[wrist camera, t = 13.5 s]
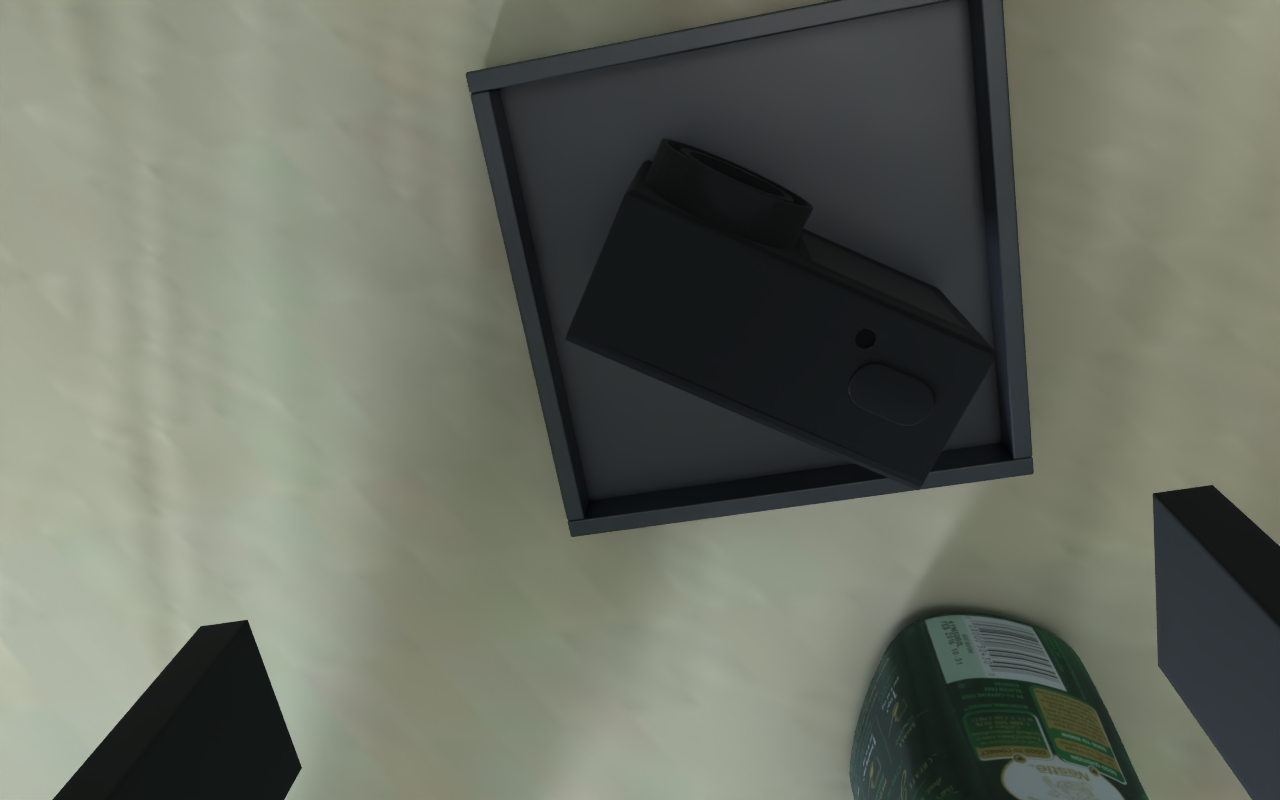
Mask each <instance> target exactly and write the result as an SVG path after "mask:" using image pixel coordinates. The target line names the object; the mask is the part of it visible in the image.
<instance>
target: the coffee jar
mask: <svg viewBox="0 0 1280 800" xmlns="http://www.w3.org/2000/svg"><path fill="white" fill-rule="evenodd" d="M850 782H851V787H852V792H853V796H854V800H1149V799H1148V797H1147V795H1146V793H1145V791H1144V789H1143V787H1142V785H1141V783H1140V781H1139V779H1138V777H1137V775H1136V772H1135V770H1134V768H1133V766H1132V763H1131V761H1130V759H1129V757H1128V755H1127V752H1126V750H1125V748H1124V746H1123V743H1122V741H1121V739H1120V737H1119V735H1118V733H1117V730H1116V728H1115V726H1114V724H1113V722H1112V720H1111V717H1110V715H1109V713H1108V711H1107V709H1106V707H1105V705H1104V704H1103V701H1102V699H1101V697H1100V696H1099V693H1098V691H1097V689H1096V687H1095V685H1094V683H1093V682H1092V680H1091V678H1090V676H1089V674H1088V672H1087V670H1086V669H1085V667H1084V665H1083V663H1082V662H1081V660H1080V658H1079V657H1078V655H1077V654H1076V653H1075V652H1074V651H1073V649H1072V648H1071V647H1070V646H1068V645H1067V644H1066V643H1065V642H1064V641H1062V640H1061V639H1059V638H1058V637H1056V636H1054V635H1052V634H1050V633H1048V632H1045V631H1043V630H1041V629H1038V628H1036V627H1033V626H1029V625H1026V624H1023V623H1020V622H1016V621H1012V620H1008V619H1004V618H1001V617H996V616H989V615H981V614H967V613H950V614H941V615H936V616H931V617H928V618H926V619H923V620H919V621H917V622H916V623H914V624H912V625H910V626H909V627H907V628H905V629H904V630H903V631H902V632H901V633H899V634H898V636H897V637H896V638H895V639H894V640H893V642H892V643H891V644H890V645H889V647H888V648H887V650H886V652H885V654H884V656H883V658H882V660H881V662H880V664H879V666H878V668H877V670H876V673H875V676H874V678H873V679H872V682H871V684H870V687H869V689H868V692H867V695H866V698H865V701H864V704H863V708H862V711H861V714H860V717H859V721H858V725H857V728H856V731H855V736H854V742H853V748H852V755H851V762H850Z"/></svg>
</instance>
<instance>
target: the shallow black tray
mask: <svg viewBox="0 0 1280 800" xmlns="http://www.w3.org/2000/svg"><path fill="white" fill-rule="evenodd" d="M466 78H467V83H468V87H469V92H470V93H472V94H471V100H472V104H473V109H474V113H475V117H476V122H477V126H478V131H479V135H480V139H481V144H482V148H483V153H484V157H485V161H486V166H487V170H488V174H489V179H490V183H491V188H492V192H493V196H494V201H495V205H496V209H497V214H498V218H499V223H500V227H501V231H502V236H503V240H504V244H505V249H506V253H507V258H508V262H509V266H510V271H511V275H512V280H513V284H514V288H515V293H516V297H517V301H518V306H519V310H520V315H521V319H522V323H523V328H524V332H525V336H526V341H527V345H528V350H529V354H530V358H531V363H532V367H533V372H534V376H535V380H536V385H537V389H538V393H539V398H540V402H541V407H542V411H543V415H544V420H545V424H546V428H547V433H548V437H549V442H550V446H551V450H552V455H553V459H554V463H555V468H556V472H557V477H558V481H559V485H560V490H561V494H562V499H563V503H564V507H565V512H566V516H567V519H568V525H569V530H570V534H571V536H572V537H575V536H583V535H590V534H597V533H605V532H612V531H619V530H627V529H634V528H641V527H649V526H656V525H663V524H671V523H678V522H685V521H693V520H700V519H707V518H715V517H722V516H729V515H737V514H744V513H751V512H759V511H766V510H773V509H781V508H788V507H795V506H803V505H810V504H817V503H825V502H832V501H839V500H847V499H854V498H861V497H869V496H876V495H883V494H891V493H898V492H905V491H913V490H916V489H914V488H911V487H909V486H907V485H904V484H902V483H899V482H897V481H895V480H892V479H890V478H888V477H885V476H883V475H881V474H878V473H876V472H873V471H871V470H869V469H866V468H864V467H862V466H859V465H857V464H854V463H852V462H850V461H847V460H845V459H843V458H840V457H838V456H836V455H833V454H831V453H828V452H826V451H824V450H821V449H819V448H817V447H814V446H812V445H810V444H807V443H805V442H802V441H800V440H798V439H795V438H793V437H791V436H788V435H786V434H784V433H781V432H779V431H777V430H774V429H772V428H770V427H767V426H765V425H763V424H760V423H758V422H756V421H753V420H751V419H748V418H746V417H744V416H741V415H739V414H737V413H734V412H732V411H730V410H727V409H725V408H723V407H720V406H718V405H716V404H713V403H711V402H709V401H706V400H704V399H702V398H699V397H697V396H695V395H692V394H690V393H688V392H685V391H683V390H680V389H678V388H676V387H673V386H671V385H669V384H666V383H664V382H662V381H659V380H657V379H655V378H652V377H650V376H648V375H645V374H643V373H641V372H638V371H636V370H634V369H631V368H629V367H627V366H624V365H622V364H620V363H618V362H615V361H613V360H611V359H608V358H606V357H604V356H601V355H599V354H597V353H594V352H592V351H590V350H587V349H585V348H583V347H581V346H578V345H576V344H574V343H571V342H569V341H567V340H565V338H566V335H567V332H568V329H569V327H570V324H571V322H572V320H573V317H574V315H575V312H576V310H577V308H578V305H579V303H580V300H581V298H582V296H583V293H584V291H585V288H586V286H587V284H588V281H589V279H590V276H591V274H592V272H593V269H594V267H595V264H596V262H597V260H598V257H599V255H600V252H601V250H602V248H603V245H604V243H605V240H606V238H607V236H608V233H609V231H610V228H611V226H612V224H613V221H614V219H615V216H616V214H617V212H618V209H619V207H620V204H621V202H622V200H623V197H624V195H625V193H626V191H627V189H628V188H629V186H630V184H631V182H632V181H633V179H634V177H635V175H636V173H637V172H638V170H639V168H640V167H641V165H642V163H643V162H645V161H648V160H650V161H652V162H653V160H654V157H655V155H656V153H657V150H658V148H659V145H660V143H661V140H662V139H663V138H666V139H671V140H675V141H679V142H682V143H685V144H688V145H691V146H694V147H697V148H700V149H702V150H705V151H707V152H710V153H712V154H715V155H717V156H719V157H722V158H724V159H727V160H729V161H731V162H734V163H736V164H738V165H740V166H742V167H745V168H747V169H749V170H751V171H753V172H755V173H757V174H759V175H761V176H764V177H766V178H768V179H770V180H772V181H773V182H775V183H777V184H779V185H781V186H783V187H785V188H787V189H788V190H790V191H792V192H793V193H795V194H797V195H799V196H800V197H802V198H803V199H805V200H806V201H807V202H809V203H810V204H811V205H812V206H813V210H812V212H811V214H810V216H809V218H808V220H807V222H806V224H805V226H804V228H803V229H806V230H808V231H810V232H812V233H815V234H817V235H819V236H821V237H824V238H826V239H828V240H830V241H833V242H835V243H837V244H839V245H842V246H844V247H846V248H848V249H851V250H853V251H855V252H857V253H860V254H862V255H864V256H866V257H869V258H871V259H873V260H875V261H878V262H880V263H882V264H884V265H887V266H889V267H891V268H893V269H896V270H898V271H900V272H902V273H905V274H907V275H909V276H911V277H914V278H916V279H918V280H920V281H923V282H925V283H927V284H930V285H932V286H934V287H936V288H938V289H939V290H940V291H941V292H942V293H943V294H944V295H945V296H946V297H947V298H948V299H949V301H950V302H951V303H952V304H953V305H954V306H955V307H956V308H957V309H958V310H959V311H960V313H961V314H962V315H963V316H964V317H965V318H966V319H967V320H968V321H969V322H970V323H971V325H972V326H973V327H974V328H975V329H976V330H977V331H978V332H979V333H980V334H981V335H982V336H983V338H984V339H985V340H986V341H987V342H988V343H989V344H990V345H991V347H992V348H993V349H994V351H995V354H996V357H995V360H994V362H993V364H992V366H991V368H990V369H989V371H988V373H987V374H986V376H985V378H984V380H983V381H982V383H981V385H980V386H979V388H978V390H977V392H976V393H975V395H974V397H973V399H972V400H971V402H970V404H969V405H968V407H967V409H966V411H965V412H964V414H963V416H962V417H961V419H960V421H959V423H958V424H957V426H956V428H955V430H954V431H953V433H952V435H951V436H950V438H949V440H948V442H947V443H946V445H945V447H944V448H943V450H942V452H941V454H940V455H939V457H938V459H937V461H936V462H935V464H934V466H933V467H932V469H931V471H930V473H929V474H928V476H927V478H926V480H925V482H924V483H923V485H922V486H921V488H920V489H927V488H935V487H942V486H949V485H957V484H964V483H971V482H979V481H986V480H993V479H1000V478H1008V477H1015V476H1022V475H1030V474H1033V472H1034V471H1033V458H1032V457H1031V456H1032V442H1031V427H1030V411H1029V396H1028V381H1027V365H1026V350H1025V334H1024V319H1023V304H1022V288H1021V273H1020V258H1019V242H1018V227H1017V211H1016V196H1015V181H1014V165H1013V150H1012V134H1011V119H1010V104H1009V88H1008V73H1007V58H1006V42H1005V27H1004V11H1003V0H832V1H827V2H822V3H817V4H812V5H807V6H802V7H797V8H792V9H787V10H782V11H777V12H771V13H766V14H761V15H756V16H751V17H746V18H741V19H736V20H731V21H726V22H721V23H715V24H710V25H705V26H700V27H695V28H690V29H685V30H680V31H675V32H670V33H665V34H660V35H654V36H649V37H644V38H639V39H634V40H629V41H624V42H619V43H614V44H609V45H604V46H598V47H593V48H588V49H583V50H578V51H573V52H568V53H563V54H558V55H553V56H548V57H542V58H537V59H532V60H527V61H522V62H517V63H512V64H507V65H502V66H497V67H492V68H487V69H481V70H476V71H471V72H467V73H466ZM920 489H919V490H920Z"/></svg>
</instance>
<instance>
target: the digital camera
mask: <svg viewBox="0 0 1280 800" xmlns="http://www.w3.org/2000/svg"><path fill="white" fill-rule="evenodd" d="M812 210H813V206H812V205H811V204H810V203H809V202H807V201H806V200H805V199H803V198H802V197H800V196H799V195H797V194H795V193H793V192H792V191H790V190H788V189H787V188H785V187H783V186H781V185H779V184H777V183H775V182H773V181H772V180H770V179H768V178H766V177H764V176H761V175H759V174H757V173H755V172H753V171H751V170H749V169H747V168H745V167H742V166H740V165H738V164H736V163H734V162H731V161H729V160H727V159H724V158H722V157H719V156H717V155H715V154H712V153H710V152H707V151H705V150H702V149H700V148H697V147H694V146H691V145H688V144H685V143H682V142H679V141H675V140H671V139H666V138H663V139H662V140H661V143H660V145H659V148H658V150H657V153H656V155H655V157H654V160H653V162H652V161H650V160H648V161H645V162H643V163H642V165H641V167H640V168H639V170H638V172H637V173H636V175H635V177H634V179H633V181H632V182H631V184H630V186H629V188H628V189H627V191H626V193H625V195H624V197H623V200H622V202H621V204H620V207H619V209H618V212H617V214H616V216H615V219H614V221H613V224H612V226H611V228H610V231H609V233H608V236H607V238H606V240H605V243H604V245H603V248H602V250H601V252H600V255H599V257H598V260H597V262H596V264H595V267H594V269H593V272H592V274H591V276H590V279H589V281H588V284H587V286H586V288H585V291H584V293H583V296H582V298H581V300H580V303H579V305H578V308H577V310H576V312H575V315H574V317H573V320H572V322H571V324H570V327H569V329H568V332H567V335H566V338H565V340H567V341H569V342H571V343H574V344H576V345H578V346H581V347H583V348H585V349H587V350H590V351H592V352H594V353H597V354H599V355H601V356H604V357H606V358H608V359H611V360H613V361H615V362H618V363H620V364H622V365H624V366H627V367H629V368H631V369H634V370H636V371H638V372H641V373H643V374H645V375H648V376H650V377H652V378H655V379H657V380H659V381H662V382H664V383H666V384H669V385H671V386H673V387H676V388H678V389H680V390H683V391H685V392H688V393H690V394H692V395H695V396H697V397H699V398H702V399H704V400H706V401H709V402H711V403H713V404H716V405H718V406H720V407H723V408H725V409H727V410H730V411H732V412H734V413H737V414H739V415H741V416H744V417H746V418H748V419H751V420H753V421H756V422H758V423H760V424H763V425H765V426H767V427H770V428H772V429H774V430H777V431H779V432H781V433H784V434H786V435H788V436H791V437H793V438H795V439H798V440H800V441H802V442H805V443H807V444H810V445H812V446H814V447H817V448H819V449H821V450H824V451H826V452H828V453H831V454H833V455H836V456H838V457H840V458H843V459H845V460H847V461H850V462H852V463H854V464H857V465H859V466H862V467H864V468H866V469H869V470H871V471H873V472H876V473H878V474H881V475H883V476H885V477H888V478H890V479H892V480H895V481H897V482H899V483H902V484H904V485H907V486H909V487H911V488H914V489H916V490H919V489H920V488H921V486H922V485H923V483H924V482H925V480H926V478H927V476H928V474H929V473H930V471H931V469H932V467H933V466H934V464H935V462H936V461H937V459H938V457H939V455H940V454H941V452H942V450H943V448H944V447H945V445H946V443H947V442H948V440H949V438H950V436H951V435H952V433H953V431H954V430H955V428H956V426H957V424H958V423H959V421H960V419H961V417H962V416H963V414H964V412H965V411H966V409H967V407H968V405H969V404H970V402H971V400H972V399H973V397H974V395H975V393H976V392H977V390H978V388H979V386H980V385H981V383H982V381H983V380H984V378H985V376H986V374H987V373H988V371H989V369H990V368H991V366H992V364H993V362H994V360H995V357H996V354H995V351H994V349H993V348H992V347H991V345H990V344H989V343H988V342H987V341H986V340H985V339H984V338H983V336H982V335H981V334H980V333H979V332H978V331H977V330H976V329H975V328H974V327H973V326H972V325H971V323H970V322H969V321H968V320H967V319H966V318H965V317H964V316H963V315H962V314H961V313H960V311H959V310H958V309H957V308H956V307H955V306H954V305H953V304H952V303H951V302H950V301H949V299H948V298H947V297H946V296H945V295H944V294H943V293H942V292H941V291H940V290H939V289H938V288H936V287H934V286H932V285H930V284H927V283H925V282H923V281H920V280H918V279H916V278H914V277H911V276H909V275H907V274H905V273H902V272H900V271H898V270H896V269H893V268H891V267H889V266H887V265H884V264H882V263H880V262H878V261H875V260H873V259H871V258H869V257H866V256H864V255H862V254H860V253H857V252H855V251H853V250H851V249H848V248H846V247H844V246H842V245H839V244H837V243H835V242H833V241H830V240H828V239H826V238H824V237H821V236H819V235H817V234H815V233H812V232H810V231H808V230H806V229H803V228H804V226H805V224H806V222H807V220H808V218H809V216H810V214H811V212H812Z"/></svg>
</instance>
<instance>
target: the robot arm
mask: <svg viewBox="0 0 1280 800" xmlns="http://www.w3.org/2000/svg"><path fill="white" fill-rule="evenodd" d="M1153 513H1154V545H1155V578H1156V610H1157V643H1158V666H1159V667H1160V669H1161V670H1162V672H1163V673H1164V674H1165V676H1166V677H1167V679H1168V680H1169V682H1170V683H1171V684H1172V686H1173V687H1174V689H1175V690H1176V692H1177V693H1178V694H1179V696H1180V697H1181V699H1182V700H1183V702H1184V703H1185V704H1186V706H1187V707H1188V709H1189V710H1190V711H1191V713H1192V714H1193V716H1194V717H1195V719H1196V720H1197V721H1198V723H1199V724H1200V726H1201V727H1202V729H1203V730H1204V731H1205V733H1206V734H1207V736H1208V737H1209V739H1210V740H1211V741H1212V743H1213V744H1214V746H1215V747H1216V748H1217V750H1218V751H1219V753H1220V754H1221V756H1222V757H1223V758H1224V760H1225V761H1226V763H1227V764H1228V766H1229V767H1230V768H1231V770H1232V771H1233V773H1234V774H1235V776H1236V777H1237V778H1238V780H1239V781H1240V783H1241V784H1242V786H1243V787H1244V788H1245V790H1246V791H1247V793H1248V794H1249V795H1250V797H1251V798H1252V800H1280V546H1279V545H1278V544H1277V543H1276V542H1274V541H1273V540H1272V539H1271V538H1270V537H1269V536H1268V535H1267V534H1266V533H1265V532H1263V531H1262V530H1261V529H1260V528H1259V527H1258V526H1257V525H1256V524H1255V523H1254V522H1252V521H1251V520H1250V519H1249V518H1248V517H1247V516H1246V515H1245V514H1244V513H1243V512H1241V511H1240V510H1239V509H1238V508H1237V507H1236V506H1235V505H1234V504H1233V503H1232V502H1230V501H1229V500H1228V499H1227V498H1226V497H1225V496H1224V495H1223V494H1222V493H1221V492H1220V491H1218V490H1217V489H1216V488H1215V487H1214V486H1213V485H1209V486H1202V487H1195V488H1188V489H1181V490H1174V491H1166V492H1159V493H1153ZM301 768H302V767H301V764H300V762H299V759H298V756H297V753H296V751H295V748H294V745H293V743H292V740H291V737H290V734H289V732H288V729H287V726H286V723H285V721H284V718H283V715H282V713H281V710H280V707H279V704H278V702H277V699H276V696H275V693H274V691H273V688H272V685H271V683H270V680H269V677H268V674H267V672H266V669H265V666H264V663H263V661H262V658H261V655H260V653H259V650H258V647H257V644H256V642H255V639H254V636H253V633H252V631H251V628H250V625H249V623H248V620H243V621H236V622H229V623H222V624H215V625H208V626H201V627H200V628H199V629H198V630H197V631H196V632H195V634H194V635H193V636H192V637H191V638H190V640H189V641H188V642H187V643H186V644H185V645H184V647H183V648H182V649H181V650H180V651H179V652H178V654H177V655H176V656H175V657H174V658H173V659H172V661H171V662H170V663H169V664H168V665H167V666H166V668H165V669H164V670H163V671H162V672H161V673H160V675H159V676H158V677H157V678H156V679H155V680H154V682H153V683H152V684H151V685H150V686H149V687H148V689H147V690H146V691H145V692H144V693H143V694H142V696H141V697H140V698H139V699H138V700H137V702H136V703H135V704H134V705H133V706H132V707H131V709H130V710H129V711H128V712H127V713H126V714H125V716H124V717H123V718H122V719H121V720H120V721H119V723H118V724H117V725H116V726H115V727H114V728H113V730H112V731H111V732H110V733H109V734H108V735H107V737H106V738H105V739H104V740H103V741H102V742H101V744H100V745H99V746H98V747H97V748H96V749H95V751H94V752H93V753H92V754H91V755H90V756H89V758H88V759H87V760H86V761H85V762H84V764H83V765H82V766H81V767H80V768H79V769H78V771H77V772H76V773H75V774H74V775H73V776H72V778H71V779H70V780H69V781H68V782H67V783H66V785H65V786H64V787H63V788H62V789H61V790H60V792H59V793H58V794H57V795H56V796H55V797H54V799H53V800H284V799H285V797H286V795H287V793H288V792H289V790H290V788H291V786H292V784H293V783H294V781H295V779H296V777H297V775H298V774H299V772H300V770H301Z"/></svg>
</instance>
